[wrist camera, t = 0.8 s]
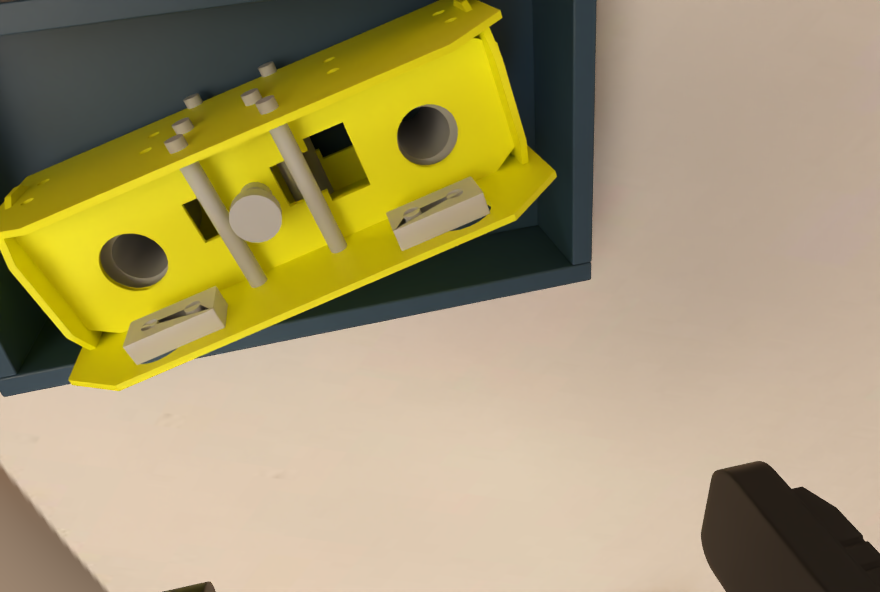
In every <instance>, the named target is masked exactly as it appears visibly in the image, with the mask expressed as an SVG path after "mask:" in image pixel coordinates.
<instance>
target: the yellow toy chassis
mask: <svg viewBox="0 0 880 592" xmlns="http://www.w3.org/2000/svg"><path fill="white" fill-rule="evenodd" d="M501 18H502V14H501V11H500V10H499V9H496V8H494V7H492V6H490V5H487V4H485V3H483V2H480V1H478V0H439V1H436V2H434V3H432V4H429V5H427V6H425V7H422V8H420V9H418V10H415V11H413V12H411V13H408V14H406V15H404V16H401V17H399V18H397V19H394V20H392V21H390V22H387V23H385V24H383V25H380V26H378V27H376V28H373V29H371V30H369V31H366V32H364V33H362V34H359V35H357V36H355V37H352V38H350V39H348V40H345V41H343V42H341V43H338V44H336V45H334V46H331V47H329V48H327V49H324V50H322V51H320V52H317V53H315V54H313V55H310V56H308V57H306V58H303V59H301V60H299V61H296V62H294V63H292V64H289V65H287V66H285V67H282V68H280V69H278V70H277V69H276V67H275V65H274V63H273V61H271V62H268V63H265V64H263V65H261V66H259V67H258V70H259V72H260V74H261V77H259V78H256V79H254V80H252V81H249V82H247V83H245V84H242V85H240V86H238V87H235V88H233V89H231V90H228V91H226V92H224V93H221V94H219V95H217V96H214V97H212V98H210V99H207V100H205V101H202V99H201V97H200V95H199V94H198V93H196V94H193V95H190V96H188V97H187V98H185V99H184V100H183V101H184V103H185V105H186V106H187V108H186V109H184V110H182V111H179V112H177V113H175V114H172V115H170V116H168V117H165V118H163V119H161V120H158V121H156V122H154V123H151V124H149V125H147V126H144V127H142V128H140V129H137V130H135V131H133V132H130V133H128V134H126V135H123V136H121V137H119V138H116V139H114V140H112V141H109V142H107V143H105V144H102V145H100V146H98V147H95V148H93V149H91V150H88V151H86V152H84V153H81V154H79V155H77V156H74V157H72V158H70V159H67V160H65V161H63V162H60V163H58V164H56V165H53V166H51V167H49V168H46V169H44V170H42V171H39V172H37V173H34V174H32V175H30V176H27V177H26V178H25V179H24V180H23V181H22V183H21V184H20V185H19V186H17V187H14V188H13V189H12V190H11V192H10V193H9V194H8V195H7V196H6V197H5V198H4V199H5V201H4V202H3V203H2V205H1V206H0V250H1V253H2V255H3V257H4V260H5V262H6V264H7V267H8V269H9V270H10V271H11V273H12V274H13V275H14V276H15V277H16V279H17V280H18V281H19V282H20V283H21V285H22V286H23V287H24V288H25V289H26V291H27V292H28V293H29V294H30V295H31V296H32V298H33V299H34V300H35V301H36V302H37V304H38V305H39V306H40V307H41V308H42V310H43V311H44V312H45V313H46V314H47V316H48V317H49V318H50V319H51V320H52V322H53V323H54V324H55V325H56V326H57V327H58V329H59V330H60V331H61V332H62V333H63V335H64V336H65V337H66V338H67V339H69V340H71V341H73V342H75V343H76V344H78V345H80V346H82V349H81V351H80V354H79V356H78V358H77V361H76V363H75V365H74V368H73V370H72V372H71V375H70V377H69V379H68V380H69V382H70V383H71V384H72V385H76V386H84V387H92V388H100V389H108V390H115V391H121V390H123V389H125V388H128V387H130V386H132V385H134V384H137V383H139V382H141V381H144V380H146V379H148V378H151V377H153V376H155V375H158V374H160V373H162V372H165V371H167V370H169V369H172V368H174V367H176V366H179V365H181V364H183V363H186V362H188V361H190V360H193V359H195V358H197V357H200V356H202V355H204V354H207V353H209V352H211V351H214V350H216V349H218V348H221V347H223V346H225V345H228V344H230V343H232V342H234V341H237V340H239V339H241V338H244V337H246V336H248V335H251V334H253V333H255V332H258V331H260V330H262V329H265V328H267V327H269V326H272V325H274V324H276V323H279V322H281V321H283V320H286V319H288V318H290V317H293V316H295V315H297V314H300V313H302V312H304V311H307V310H309V309H311V308H314V307H316V306H318V305H321V304H323V303H325V302H328V301H330V300H332V299H334V298H337V297H339V296H341V295H344V294H346V293H348V292H351V291H353V290H355V289H358V288H360V287H362V286H365V285H367V284H369V283H372V282H374V281H376V280H379V279H381V278H383V277H386V276H388V275H390V274H393V273H395V272H397V271H400V270H402V269H404V268H407V267H409V266H411V265H414V264H416V263H418V262H421V261H423V260H425V259H428V258H430V257H432V256H435V255H437V254H439V253H441V252H444V251H446V250H448V249H451V248H453V247H455V246H458V245H460V244H462V243H465V242H467V241H469V240H472V239H474V238H476V237H479V236H481V235H483V234H486V233H488V232H490V231H493V230H495V229H497V228H500V227H502V226H504V225H507V224H509V223H511V222H514V221H516V220H517V219H518V218H519V217H520V216H521V215H522V214H523V213H524V212H525V211H526V209H527V208H528V207H529V206H530V205H531V204H532V203H533V202H534V201H535V200H536V199H537V198H538V197H539V195H540V194H541V193H542V192H543V191H544V190H545V189H546V188H547V187H548V186H549V185H550V184H551V183H552V182H553V180H554V179H555V178H556V177H557V175H556V172H555V170H554V169H553V168H552V167H551V166H549V165H548V164H547V163H546V162H545V161H544V160H543V159H542V158H541V157H540V156H539V155H537V154H536V153H535V152H534V151H533V150H532V149H531V148H530V147H529V146H528V145H527V140H526V137H525V133H524V130H523V127H522V123H521V120H520V116H519V113H518V110H517V106H516V103H515V99H514V96H513V93H512V89H511V86H510V82H509V79H508V75H507V72H506V69H505V65H504V62H503V58H502V56H501V53H500V50H499V47H498V43H497V42H495V40H494V37H493V35H492V33H491V30H490V28H489V27H490V26H491V25H493V24H494V23H496V22H497V21H499V20H500V19H501ZM418 107H421V108H420V110H419V112H418V113H417V115H415V116H414V117H413V118H412V119H410V120H408V121H404V122H401V121H402V119H403V118H404V117H405V115H406V114H407V113H408V112H410V111H411V110H413V109H415V108H418ZM342 122H343V124H344V126H345V128H346V131H347V133H348V135H349V137H350V140H351V142H352V144H353V145H351V146H349V147H347V148H344V149H342V150H340V151H337V152H335V153H333V154H330V155H328V156H326V157H323V156H322V154H321V152H320V150H319V148H318V149H316V150H315V148H314V146H313V144H312V142H311V139H310V137H309V136H311V135H314V134H316V133H318V132H321V131H323V130H325V129H328V128H330V127H332V126H335V125H337V124H339V123H342ZM488 205H489V206H490V207H491V210H490V211H489V208H488ZM483 216H486V217H484V218H483V219H482V220H480V221H479V222H477V223H475V224H473V225H471V226H469V227H466V228H463V229H460V230H455V231H451V230H453V229H455V228H458V227H460V226H462V225H465V224H467V223H469V222H472V221H474V220H476V219H479V218H481V217H483ZM176 348H177V349H176ZM174 349H176V350H175V351H173V352H172V353H170V354H169V355H167V356H165V357H164V358H162V359H160V360H158V361H155V362H152V363H148V364H141V363H144V362H146V361H148V360H151V359H153V358H155V357H158V356H160V355H162V354H165V353H167V352H169V351H171V350H174Z"/></svg>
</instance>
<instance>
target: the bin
mask: <svg viewBox="0 0 880 592" xmlns="http://www.w3.org/2000/svg"><path fill="white" fill-rule="evenodd" d="M436 1H439V0H0V206H1V205H2V203H3V202H4V201H5V199H4V198H5V197H6V196H7V195H8V194H9V193H10V192H11V190H12V189H13V188H14V187H17V186H19V185H20V184H21V183H22V181H23V180H24V179H25V178H26V177H27V176H30V175H32V174H34V173H37V172H39V171H42V170H44V169H46V168H49V167H51V166H53V165H56V164H58V163H60V162H63V161H65V160H67V159H70V158H72V157H74V156H77V155H79V154H81V153H84V152H86V151H88V150H91V149H93V148H95V147H98V146H100V145H102V144H105V143H107V142H109V141H112V140H114V139H116V138H119V137H121V136H123V135H126V134H128V133H130V132H133V131H135V130H137V129H140V128H142V127H144V126H147V125H149V124H151V123H154V122H156V121H158V120H161V119H163V118H165V117H168V116H170V115H172V114H175V113H177V112H179V111H182V110H184V109H186V108H187V106H186V105H185V103H184V101H183V100H184V99H185V98H187V97H188V96H190V95H193V94H196V93H198V94H199V95H200V97H201V99H202V101H205V100H207V99H210V98H212V97H214V96H217V95H219V94H221V93H224V92H226V91H228V90H231V89H233V88H235V87H238V86H240V85H242V84H245V83H247V82H249V81H252V80H254V79H256V78H259V77H261V74H260V72H259V70H258V67H259V66H261V65H263V64H265V63H268V62H271V61H273V63H274V65H275V67H276V69H277V70H278V69H280V68H282V67H285V66H287V65H289V64H292V63H294V62H296V61H299V60H301V59H303V58H306V57H308V56H310V55H313V54H315V53H317V52H320V51H322V50H324V49H327V48H329V47H331V46H334V45H336V44H338V43H341V42H343V41H345V40H348V39H350V38H352V37H355V36H357V35H359V34H362V33H364V32H366V31H369V30H371V29H373V28H376V27H378V26H380V25H383V24H385V23H387V22H390V21H392V20H394V19H397V18H399V17H401V16H404V15H406V14H408V13H411V12H413V11H415V10H418V9H420V8H422V7H425V6H427V5H429V4H432V3H434V2H436ZM478 1H480V2H483V3H485V4H487V5H490V6H492V7H494V8H496V9H499V10H500V11H501V14H502V18H501V19H500V20H499V21H497V22H496V23H494V24H493V25H491V26H490V27H489V28H490V30H491V33H492V35H493V37H494V40H495V42H497V43H498V47H499V50H500V53H501V56H502V58H503V62H504V65H505V69H506V72H507V75H508V79H509V82H510V86H511V89H512V93H513V96H514V99H515V103H516V106H517V110H518V113H519V116H520V120H521V123H522V127H523V130H524V133H525V137H526V140H527V145H528V146H529V147H530V148H531V149H532V150H533V151H534V152H535V153H536V154H537V155H539V156H540V157H541V158H542V159H543V160H544V161H545V162H546V163H547V164H548V165H549V166H551V167H552V168H553V169H554V170H555V172H556V175H557V177H556V178H555V179H554V180H553V182H552V183H551V184H550V185H549V186H548V187H547V188H546V189H545V190H544V191H543V192H542V193H541V194H540V195H539V197H538V198H537V199H536V200H535V201H534V202H533V203H532V204H531V205H530V206H529V207H528V208H527V209H526V211H525V212H524V213H523V214H522V215H521V216H520V217H519V218H518V219H517V220H516V221H514V222H511V223H509V224H507V225H504V226H502V227H500V228H497V229H495V230H493V231H490V232H488V233H486V234H483V235H481V236H479V237H476V238H474V239H472V240H469V241H467V242H465V243H462V244H460V245H458V246H455V247H453V248H451V249H448V250H446V251H444V252H441V253H439V254H437V255H435V256H432V257H430V258H428V259H425V260H423V261H421V262H418V263H416V264H414V265H411V266H409V267H407V268H404V269H402V270H400V271H397V272H395V273H393V274H390V275H388V276H386V277H383V278H381V279H379V280H376V281H374V282H372V283H369V284H367V285H365V286H362V287H360V288H358V289H355V290H353V291H351V292H348V293H346V294H344V295H341V296H339V297H337V298H334V299H332V300H330V301H328V302H325V303H323V304H321V305H318V306H316V307H314V308H311V309H309V310H307V311H304V312H302V313H300V314H297V315H295V316H293V317H290V318H288V319H286V320H283V321H281V322H279V323H276V324H274V325H272V326H269V327H267V328H265V329H262V330H260V331H258V332H255V333H253V334H251V335H248V336H246V337H244V338H241V339H239V340H237V341H234V342H232V343H230V344H228V345H225V346H223V347H221V348H218V349H216V350H214V351H211V352H209V353H207V354H204V355H202V356H200V357H197V358H201V357H206V356H211V355H216V354H221V353H226V352H231V351H236V350H241V349H246V348H251V347H256V346H261V345H266V344H271V343H276V342H281V341H286V340H291V339H296V338H301V337H306V336H311V335H316V334H321V333H326V332H331V331H336V330H341V329H346V328H351V327H356V326H361V325H366V324H371V323H376V322H381V321H386V320H391V319H396V318H401V317H406V316H411V315H416V314H421V313H426V312H431V311H436V310H441V309H446V308H451V307H456V306H461V305H466V304H471V303H476V302H481V301H486V300H491V299H496V298H501V297H506V296H511V295H516V294H521V293H526V292H531V291H536V290H541V289H546V288H551V287H556V286H561V285H566V284H571V283H576V282H581V281H586V280H590V279H591V259H592V208H593V156H594V105H595V53H596V2H597V0H478ZM420 108H421V107H418V108H415V109H413V110H411V111H410V112H408V113H407V114H406V115H405V117H404V118H403V119H402V121H401V122H404V121H408V120H410V119H412V118H413V117H414V116H415V115H417V113H418V112H419V110H420ZM309 137H310V139H311V142H312V144H313V146H314V148H315V150H316V149H318V148H319V150H320V152H321V154H322V156H323V157H326V156H328V155H330V154H333V153H335V152H337V151H340V150H342V149H344V148H347V147H349V146H351V145H353V144H352V142H351V140H350V137H349V135H348V133H347V131H346V128H345V126H344V124H343V122H342V123H339V124H337V125H335V126H332V127H330V128H328V129H325V130H323V131H321V132H318V133H316V134H314V135H311V136H309ZM488 208H489V211H490V210H491V207H490V206H489V205H488ZM484 217H486V216H483V217H481V218H479V219H476V220H474V221H472V222H469V223H467V224H465V225H462V226H460V227H458V228H455V229H453V230H451V231H455V230H460V229H463V228H466V227H469V226H471V225H473V224H475V223H477V222H479V221H480V220H482V219H483V218H484ZM81 349H82V346H80V345H78V344H76V343H75V342H73V341H71V340H69V339H67V338H66V337H65V336H64V335H63V333H62V332H61V331H60V330H59V329H58V327H57V326H56V325H55V324H54V323H53V322H52V320H51V319H50V318H49V317H48V316H47V314H46V313H45V312H44V311H43V310H42V308H41V307H40V306H39V305H38V304H37V302H36V301H35V300H34V299H33V298H32V296H31V295H30V294H29V293H28V292H27V291H26V289H25V288H24V287H23V286H22V285H21V283H20V282H19V281H18V280H17V279H16V277H15V276H14V275H13V274H12V273H11V271H10V270H9V269H8V267H7V264H6V262H5V260H4V257H3V255H2V253H1V250H0V392H1V394H2V395H3V396H4V397H6V396H11V395H16V394H21V393H26V392H31V391H36V390H41V389H46V388H51V387H56V386H61V385H66V384H71V383H70V382H69V380H68V379H69V377H70V375H71V372H72V370H73V368H74V365H75V363H76V361H77V358H78V356H79V354H80V351H81ZM176 349H177V348H176ZM176 349H174V350H171V351H169V352H167V353H165V354H162V355H160V356H158V357H155V358H153V359H151V360H148V361H146V362H144V363H141V364H148V363H152V362H155V361H158V360H160V359H162V358H164V357H165V356H167V355H169V354H170V353H172V352H173V351H175V350H176ZM195 359H196V358H195Z"/></svg>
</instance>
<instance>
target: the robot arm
mask: <svg viewBox="0 0 880 592" xmlns="http://www.w3.org/2000/svg"><path fill="white" fill-rule="evenodd" d="M701 540H702V546H703V550H704V554H705V557H706V559H707V562H708V564H709V566H710V568H711V570H712V571H713V573H714V574H715V576H716V577H717V579H718V580H719V582H720V583H721V585H722V586H723V588H724V589H725V591H726V592H880V553H879V552H878V551H877V550H876V549H875V548H874V547H873V546H872V545H871V544H870V543H869V542H868V541H867V542H865V541H864V539H863V535H862V534H861V533H860V532H859V531H858V530H857V529H856V528H855V527H854V526H853V525H852V524H851V523H850V522H849V521H848V520H847V519H846V517H845V516H844V515H843V514H842V513H841V512H840V511H839V510H838V509H837V508H836V507H834V506H833V505H831V504H829V503H828V502H826V501H825V500H823V499H821V498H820V497H818V496H817V495H815V494H813V493H812V492H810V491H809V490H807V489H805V488H804V487H799V488H794V489H791V488H790V487H789V486H788V485H787V484H786V482H785V481H784V480H783V479H782V478H781V477H780V476H779V475H778V474H777V472H776V471H775V470H774V469H773V468H772V467H771V466H769V465H768V464H767V463H765V462H762V461H756V462H751V463H747V464H742V465H738V466H734V467H729V468H725V469H720V470H717V471H715V472H714V473H713V475H712V478H711V483H710V488H709V494H708V499H707V504H706V509H705V515H704V520H703V525H702V531H701ZM164 592H215V589H214V587H213V585H212V583H211V582H204V583H200V584H195V585H191V586H186V587H182V588H177V589H173V590H168V591H164Z"/></svg>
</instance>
